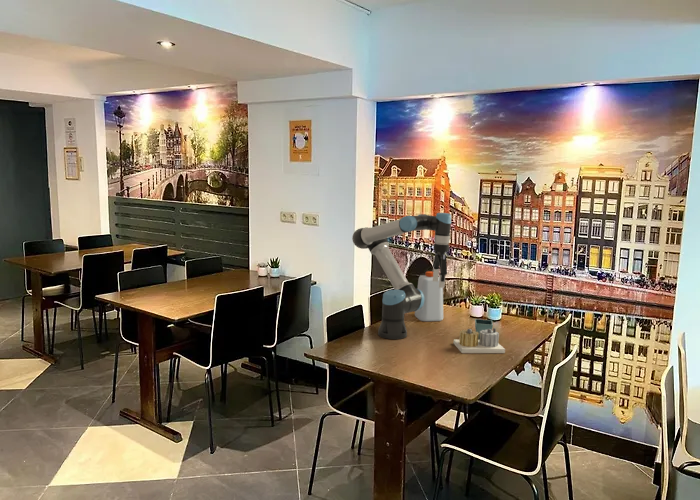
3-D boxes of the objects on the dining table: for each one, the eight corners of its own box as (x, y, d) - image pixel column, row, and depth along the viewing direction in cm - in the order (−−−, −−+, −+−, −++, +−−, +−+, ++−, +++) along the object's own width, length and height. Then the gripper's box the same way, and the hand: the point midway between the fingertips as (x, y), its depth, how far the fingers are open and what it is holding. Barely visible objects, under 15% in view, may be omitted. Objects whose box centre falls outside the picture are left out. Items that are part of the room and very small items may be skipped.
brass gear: (462, 346, 252) (462, 334, 251) (457, 341, 261) (457, 329, 260) (480, 347, 253) (481, 335, 252) (474, 341, 261) (475, 329, 261)
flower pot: (492, 341, 268) (493, 324, 267) (474, 340, 270) (475, 323, 269) (491, 336, 277) (492, 320, 276) (473, 335, 279) (474, 318, 278)
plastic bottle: (412, 315, 317) (414, 270, 313) (436, 314, 319) (438, 269, 316) (420, 322, 302) (422, 274, 298) (445, 321, 305) (447, 274, 301)
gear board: (461, 353, 249) (463, 332, 248) (453, 343, 264) (454, 324, 263) (504, 353, 251) (506, 332, 249) (494, 343, 265) (495, 324, 264)
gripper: (455, 247, 252) (451, 290, 256) (442, 240, 277) (439, 279, 280) (440, 247, 252) (436, 289, 255) (429, 239, 276) (426, 278, 280)
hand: (438, 284), depth 268 cm, fingers open, 13 cm apart
